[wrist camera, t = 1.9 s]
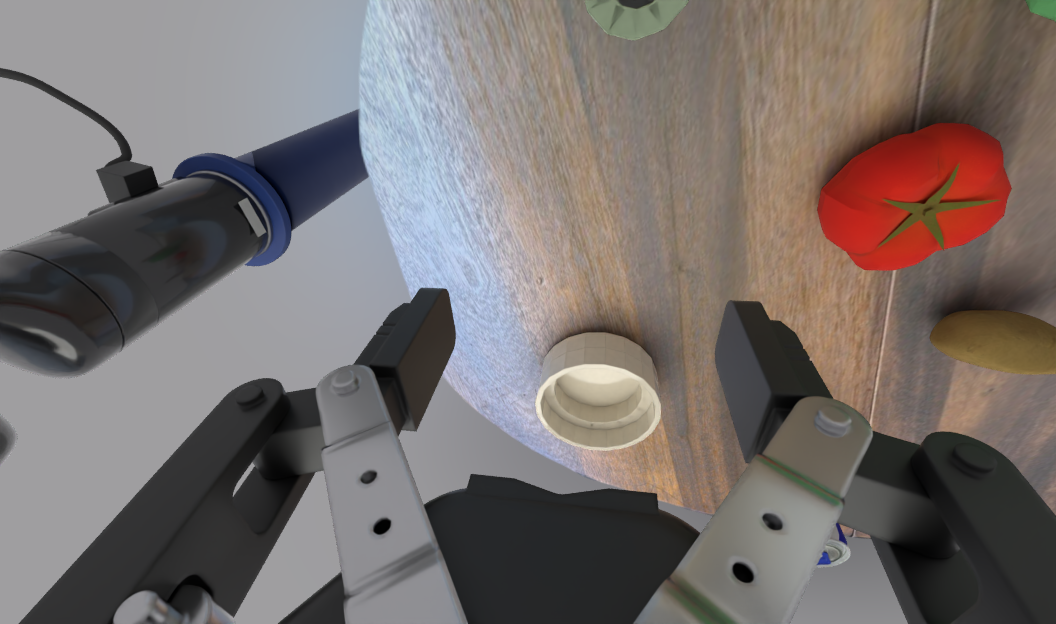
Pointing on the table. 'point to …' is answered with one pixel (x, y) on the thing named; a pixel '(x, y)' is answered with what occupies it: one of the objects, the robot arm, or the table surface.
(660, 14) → the crock
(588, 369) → the bowl
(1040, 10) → the decorative sphere
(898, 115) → the table surface
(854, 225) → the tomato
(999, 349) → the potato
